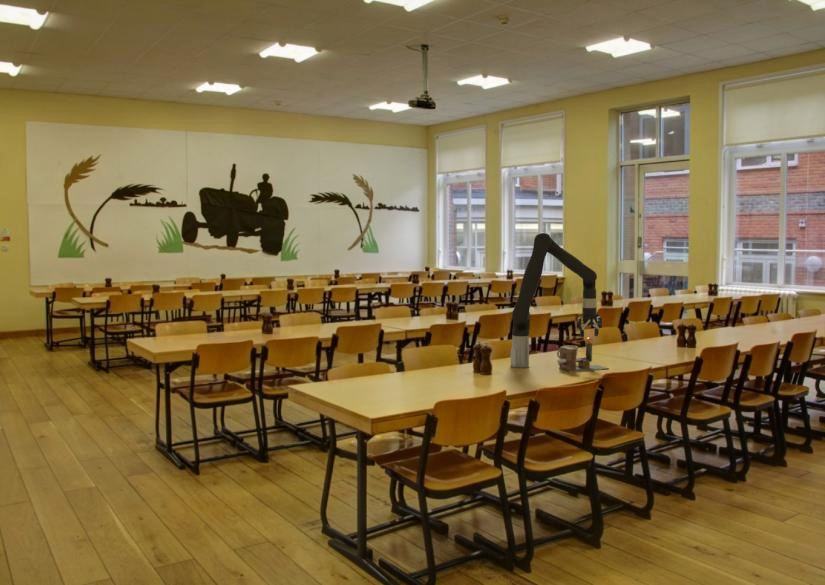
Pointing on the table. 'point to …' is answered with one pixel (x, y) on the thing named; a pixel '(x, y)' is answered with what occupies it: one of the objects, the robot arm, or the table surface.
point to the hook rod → (588, 353)
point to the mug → (568, 346)
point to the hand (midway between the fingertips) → (589, 336)
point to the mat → (592, 367)
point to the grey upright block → (568, 358)
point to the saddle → (584, 364)
